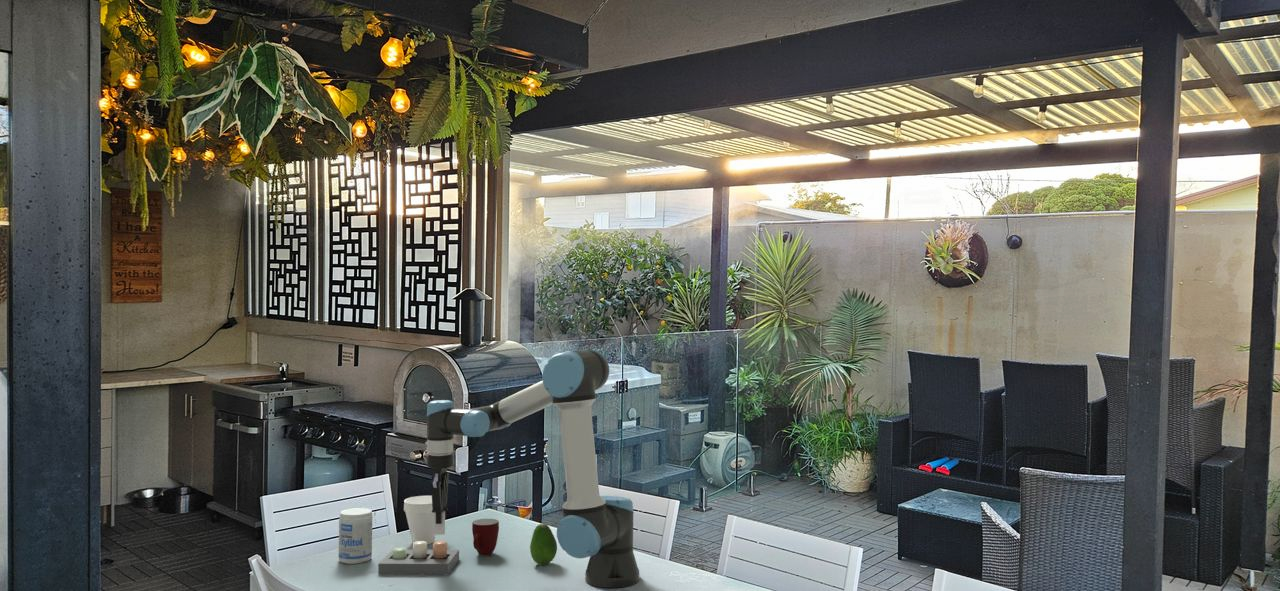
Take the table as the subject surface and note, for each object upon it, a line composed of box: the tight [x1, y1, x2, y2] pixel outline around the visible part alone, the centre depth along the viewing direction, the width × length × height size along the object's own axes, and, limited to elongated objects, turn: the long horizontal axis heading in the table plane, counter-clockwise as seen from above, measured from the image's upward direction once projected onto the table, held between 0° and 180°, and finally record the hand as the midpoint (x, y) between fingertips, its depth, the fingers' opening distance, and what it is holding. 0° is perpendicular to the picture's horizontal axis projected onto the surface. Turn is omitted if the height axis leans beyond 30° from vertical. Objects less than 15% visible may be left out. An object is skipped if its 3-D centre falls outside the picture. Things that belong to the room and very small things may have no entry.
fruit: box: [529, 523, 558, 566], centre depth 257 cm, size 8×8×12 cm
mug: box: [471, 518, 500, 557], centre depth 266 cm, size 10×8×10 cm
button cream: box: [412, 541, 428, 559], centre depth 255 cm, size 4×4×4 cm
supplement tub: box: [338, 507, 373, 565], centre depth 262 cm, size 10×10×15 cm
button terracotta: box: [432, 540, 448, 559], centre depth 255 cm, size 4×4×4 cm
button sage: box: [392, 547, 408, 559], centre depth 255 cm, size 4×4×4 cm
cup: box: [403, 495, 436, 545], centre depth 282 cm, size 12×12×14 cm
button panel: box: [377, 549, 460, 575], centre depth 255 cm, size 20×14×3 cm
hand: (439, 533), depth 255 cm, fingers closed
